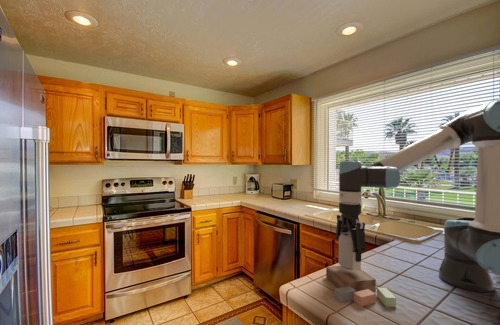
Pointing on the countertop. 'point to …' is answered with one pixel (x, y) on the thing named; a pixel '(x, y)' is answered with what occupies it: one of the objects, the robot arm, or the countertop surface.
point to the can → (346, 250)
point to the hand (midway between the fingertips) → (349, 264)
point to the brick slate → (344, 293)
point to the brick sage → (386, 297)
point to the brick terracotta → (364, 297)
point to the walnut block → (350, 278)
